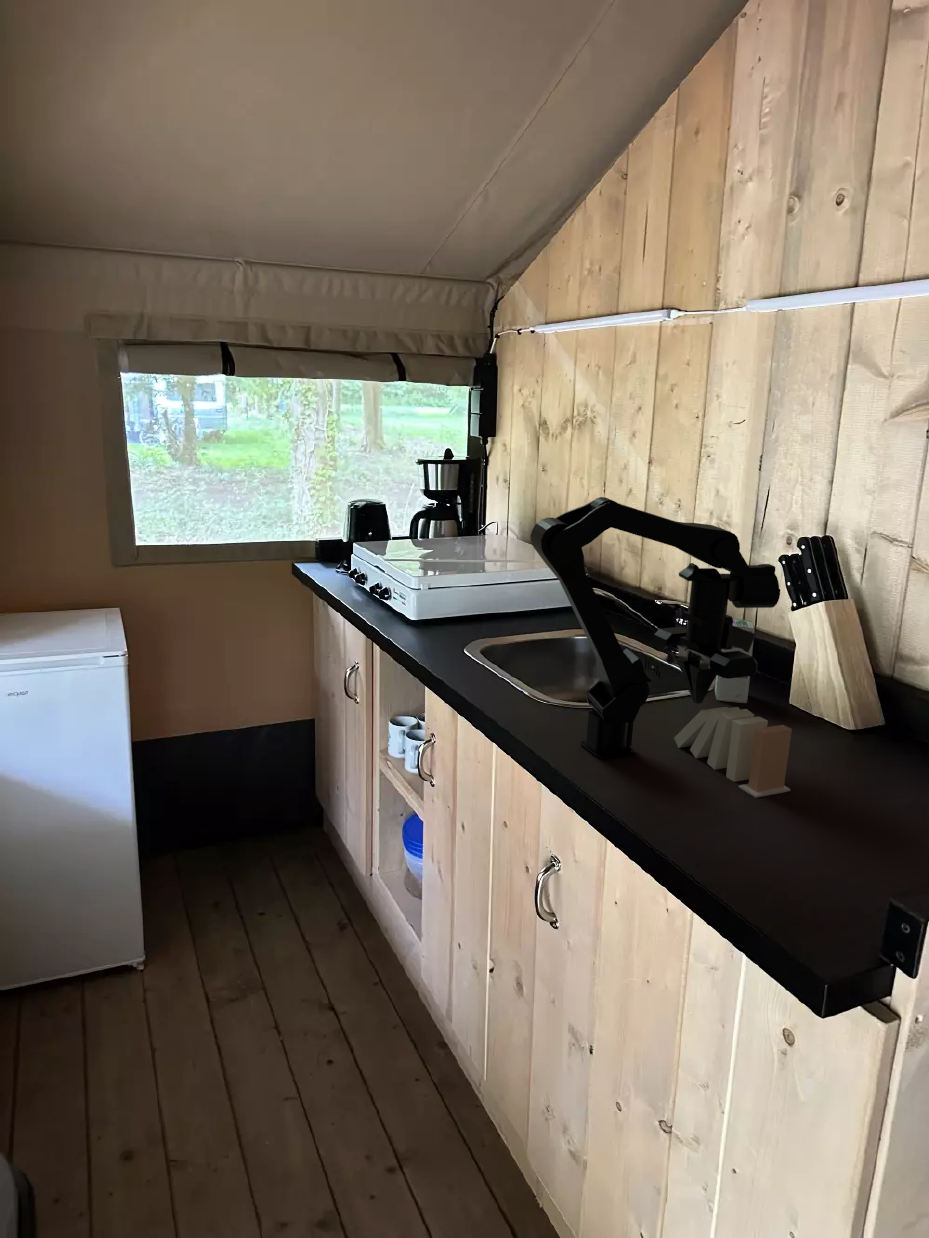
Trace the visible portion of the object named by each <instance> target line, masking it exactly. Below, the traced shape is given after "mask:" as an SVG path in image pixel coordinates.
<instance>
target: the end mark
mask: <svg viewBox="0 0 929 1238" xmlns="http://www.w3.org/2000/svg"><path fill="white" fill-rule="evenodd" d="M748 785H749V783H745V784H740V785H739V784H738V788H739V789H740V790H742V791H744V792H746V793H747V794H748V795H750V796H752V797H754V798H760V797H766V796H771V795H772V796H773V795H777V794H782V793H787V792H791V788H790V787H788V786H786V785H784V787H781V788H776V789H770V790H764V791H759V792H756V791H754V790H753V789H751V788H750V787H748Z"/></svg>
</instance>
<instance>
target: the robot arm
mask: <svg viewBox="0 0 929 1238" xmlns="http://www.w3.org/2000/svg"><path fill="white" fill-rule="evenodd" d="M610 528H613V529H615V530H619V531H621V532H626V533H628V534H632V535H635V536H638V537H641V538H644V539H647V540H650V541H655V542H656V543H657V542H658V543H661V544H664V545H667V546H670V547H674V548H676V549H677V550H680V551H682V552H683V553H685V554H687V555H689V556H691V557H692V558H694V559H696V560H697V561H698V560H699V561H701V562H702V563H705V564H706V565H708V566H711V568H709V567H704V568H703V567H699V566H698V564H695V563H693V562H690V563H689V564H688V566H687V567H685V568H683V569H682V570H680V571H679V572H678V577H680V578H682V579H684V580H685V581H687V582H691V583H690V584H691V585H690V591H689V592H690V593H689V604H688V611H686V610H685V611H682V614H681V618H682V619H684V620H686V621H687V622H686V623H687V624H686V628H685V627H683V626H677V627H676V626H674V627H673V626H672V627H664V628H658V629H657V631H655V633H654V635H653V643H652V644H653V646H654V647H656V648H658V649H660V650H666V649H667V648H668V647H669V646H670V645H675V646H676V647H677V648H678V654H677V655H674V656H673V660H674V661H676V663H677V665H678V667H679V670H680V671H681V672H680V673H681V674H682V676H683V678H684V682H685V683H686V686H687V689H688V692H689V694H690V697H691V699H692V702H693V703H694V704H696V705H700V704H702V703H703V701H704V699H705V697H706V696H707V694H708V692H709V690H710V688H711V687H712V686H711V685H712V684H713V682H714V680H716V676H717V675H718V676H720V677H722V678H727V679H731V678H739V677H747V676H750V677H754V676H757V670H758V661H757V660H756V658H755V657H754V656H753V655H752V656H750V655H747V654H745V653H743V652H740V651H732V652H722V651H721V650H722V649H726V650H729V649H732V646H734V647H738V648H741V649H743V650H744V651H745V652H749V650H750V647H751V645H752V643H753V644H754V640H755V638H756V633H755V632H754V633H751V632H749V631H746V630H744V629H741V628H738V627H736V626H733V619H734V617H733V616H732V615H729V614H727V613H728V605H729V604H728V603H729V602H731V604H732V605H733V607H735V608H736V609H757V608H758V609H765V608H767V609H768V608H769V609H772V608H774V607H775V606H777V604H778V602H779V600H780V597H781V596H780V595H781V589H780V584H779V583H780V582H779V579H778V576H777V575H776V566H775V565H773V564H770V563H760V564H748V563H747V561H746V560H745V558H744V556H743V554H742V553H741V551H740V550H741V544H740V541H739V538H738V536H737V535H736V534H735V533H733V532H731V530H730V531H729V530H726V529H724V528H722V527H718V526H716V525H713V524H708V523H707V524H706V523H698V522H681V521H677V520H676V521H675V520H672V519H669V518H667V517H663V516H660V515H656V514H654V513H650V512H647V511H643V510H640V509H637V508H634V507H631V506H628V505H625V504H621V503H618V502H617V501H615V500H613V499H610V498H607V497H603V496H601V497H596V498H595V499H593V500H592V501H591V500H590V501H589V502H587V503H586V504H584V505H582V506H579V507H576V508H573V509H570V510H569V511H566V512H564V513H561V514H560V515H558V516H556V517H545V518H541V519H540V520H538V521H537V522H536V523H535V525H534V526H533V528H532V530H531V534H530V536H529V537H530V542H531V545H532V547H533V549H534V550H535V551H536V552H537V554H538V555H539V557H540V558H541V560H542V561H543V562H544V563H545V565H546V566H547V567H548V568H549V570H550V571H551V572H552V574H553V575H554V576H555V577H556V578H557V580H558V581H559V583H560V585H561V588H562V590H563V591H564V594H565V595H566V597H567V599H568V602H569V604H570V605H571V608H572V610H573V612H574V614H575V616H576V618H577V620H578V623H579V624H580V626H581V629H582V631H583V633H584V635H585V637H586V639H587V640H588V643H589V646H590V647H591V649H592V651H593V654H594V657H595V663H596V672H597V675H598V679H599V680H598V681H596V682H595V683H594V685H592V686H591V687H590V688H589V689H588V690H586V692H585V698H586V700H587V703H588V705H589V706H590V707H592V710H591V711H590V710H589V711H588V712H587V715H588V716H587V727H586V738H585V740H581V741H580V746H581V747H583V748H584V749H585V750H587V751H588V752H590V753H591V754H593V755H594V756H595V757H596V758H598V759H601V760H605V759H606V760H607V759H611V758H612V759H614V758H619V757H625V756H631V755H635V754H636V750H635V749H634V748H632V746H633V736H634V724H635V723H634V722H635V720H636V718H637V715H638V714H639V712H640V710H641V707H642V706H644V704H645V703H646V702H647V700H648V698H649V695H650V693H651V689H650V686H649V683H651V682H652V679H651V678H649V677H648V676H647V674H646V672H645V668H644V664H643V661H642V659H641V658H640V657H639V656H637V655H636V654H635V653H634V652H633V651H631V649H629V648H625V649H624V650H623V649H622V647H621V645H620V642H619V641H618V639H617V636H616V634H615V632H614V630H613V627H612V625H611V623H610V621H609V619H608V617H607V615H606V612H605V611H604V608H603V607H602V605H601V602H600V600H599V598H598V596H597V594H596V591H595V590H594V587H593V586H592V583H591V581H590V579H589V577H588V575H587V571H586V565H585V564H586V563H585V556H584V551H583V547H586V546H588V545H589V544H590V543H592V542H593V541H594V540H596V539H597V538H598V537H599V536H601V535H602V534H603V533H604V532H605V531H607V530H609V529H610ZM718 569H723V570H725V571H728V572H729V573H720V571H718Z"/></svg>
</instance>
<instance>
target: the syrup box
mask: <svg viewBox="0 0 929 1238" xmlns="http://www.w3.org/2000/svg"><path fill="white" fill-rule="evenodd" d="M733 626H736V627H738V628H741V629H744V630H746V631H749V632H751V633H754V634H755V627H754V625H753V621H752V620H747V619H738V618H737V619H736V618H733ZM753 649H754V642H753V643H752V645H751V647H750V650H749V652H745V651H744V650H743V649H741V648H738V647H734V646H732V649H729V650H726V649H722V650H721V651H722V652H732V651H740V652H743V653H745V654H747V655H750V656H752V657H753ZM750 679H751V676H747V677H739V678H731V679H727V678H722V677H720V676H718V675H717V676H716V677H715V683H714V694H715V700H716V701H722V702H728V703H739V704H740V703H741V704H747V703H748V698H749V697H748V695H749V688H750V681H751V680H750Z"/></svg>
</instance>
